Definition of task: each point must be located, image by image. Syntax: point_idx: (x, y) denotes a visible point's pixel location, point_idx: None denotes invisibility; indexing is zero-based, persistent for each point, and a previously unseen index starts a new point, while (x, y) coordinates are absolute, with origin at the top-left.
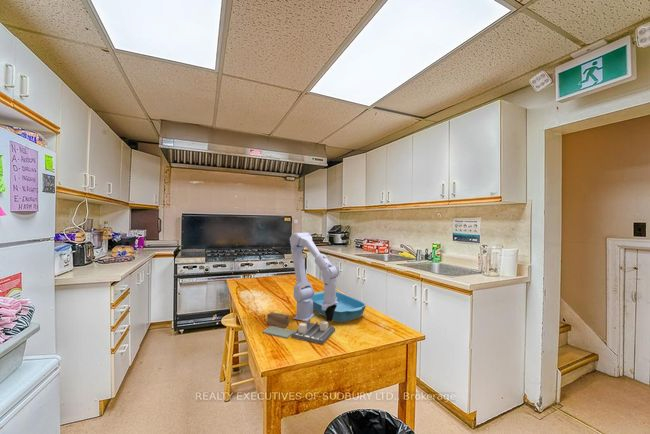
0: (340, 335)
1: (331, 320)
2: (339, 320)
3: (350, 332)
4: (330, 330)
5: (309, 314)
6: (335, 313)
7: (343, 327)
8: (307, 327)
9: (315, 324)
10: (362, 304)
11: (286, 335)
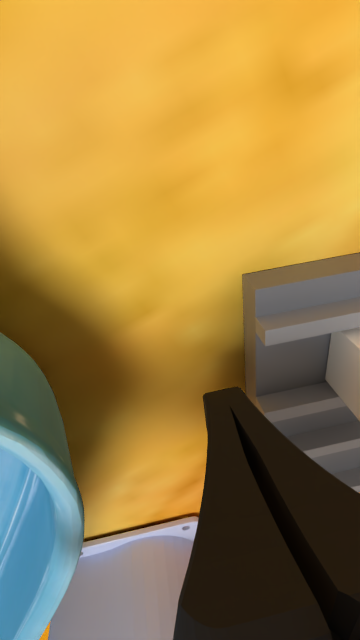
0: (323, 162)
1: (230, 392)
2: (31, 358)
3: (183, 72)
4: (344, 292)
5: (146, 568)
6: (70, 464)
7: (100, 244)
8: (344, 456)
9: (315, 447)
10: None
11: None
